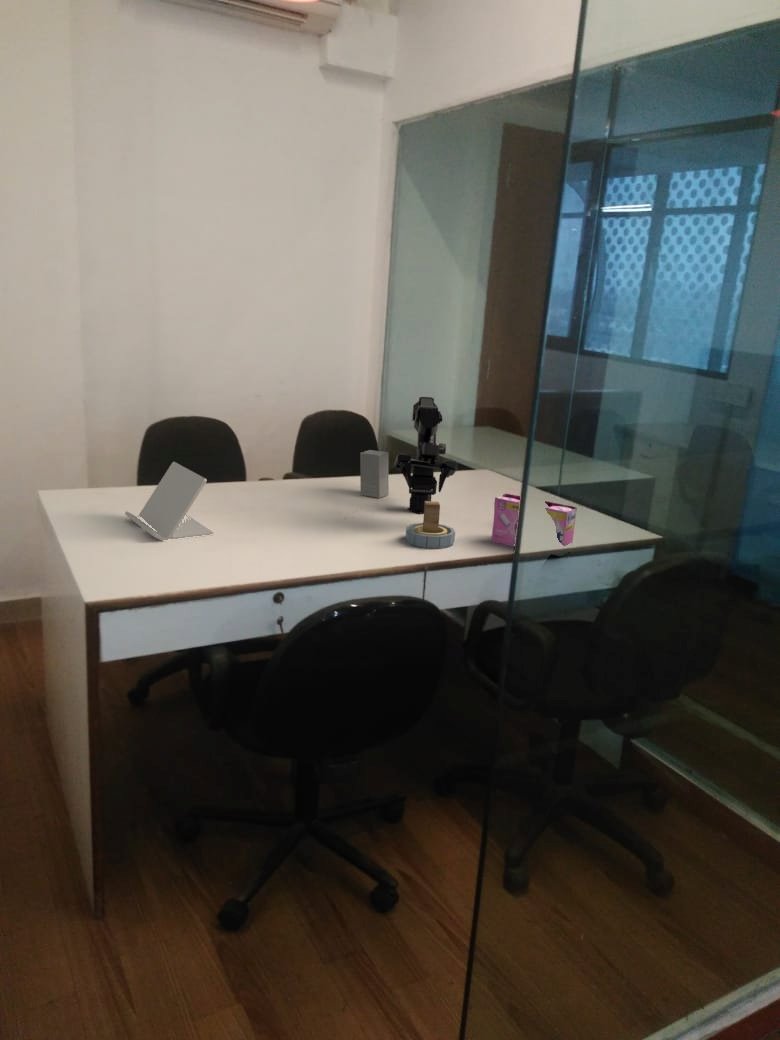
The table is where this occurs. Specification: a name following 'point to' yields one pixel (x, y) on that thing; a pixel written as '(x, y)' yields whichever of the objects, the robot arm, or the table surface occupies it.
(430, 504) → the brown wooden block
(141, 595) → the table surface
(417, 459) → the robot arm
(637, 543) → the table surface
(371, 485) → the skincare box
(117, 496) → the table surface
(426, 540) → the grey round dish
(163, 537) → the tablet stand
